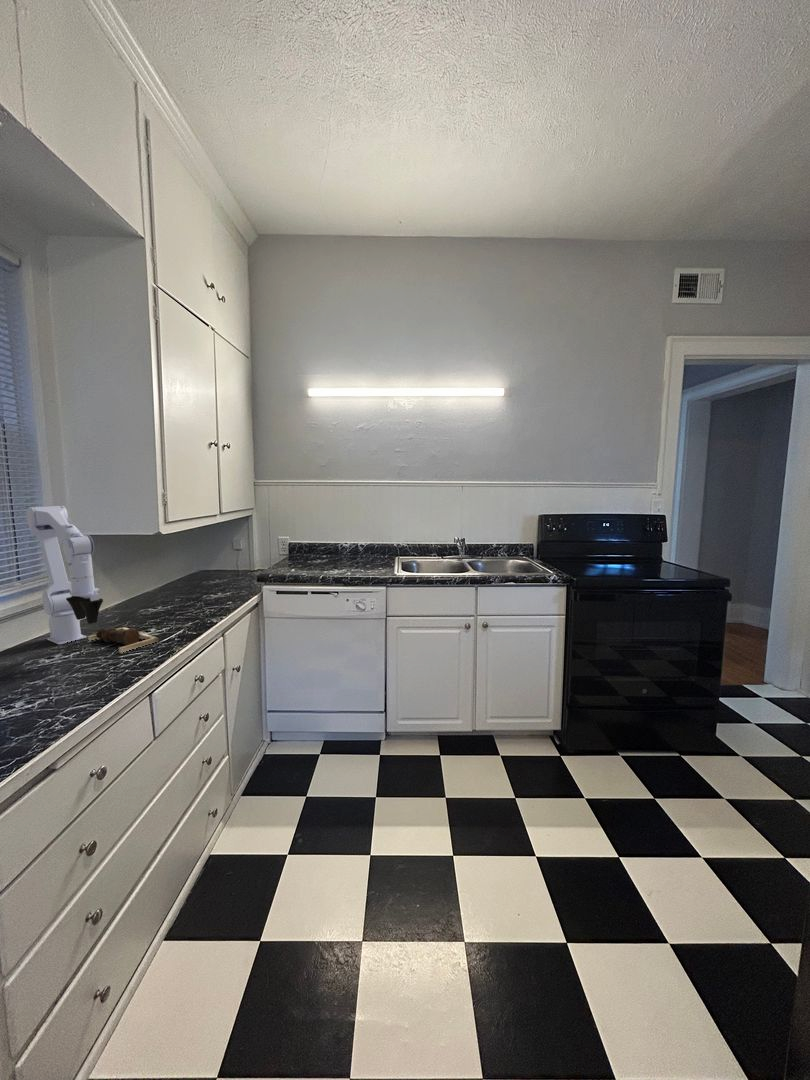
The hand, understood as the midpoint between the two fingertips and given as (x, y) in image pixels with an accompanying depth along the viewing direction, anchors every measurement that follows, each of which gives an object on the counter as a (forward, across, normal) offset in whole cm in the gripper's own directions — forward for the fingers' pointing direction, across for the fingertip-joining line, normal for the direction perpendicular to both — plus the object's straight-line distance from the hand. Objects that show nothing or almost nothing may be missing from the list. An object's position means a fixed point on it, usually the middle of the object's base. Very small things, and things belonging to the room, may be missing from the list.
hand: (86, 620), depth 143 cm
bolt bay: (+9, 0, -9) cm, 13 cm away
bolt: (+10, +1, -8) cm, 13 cm away
